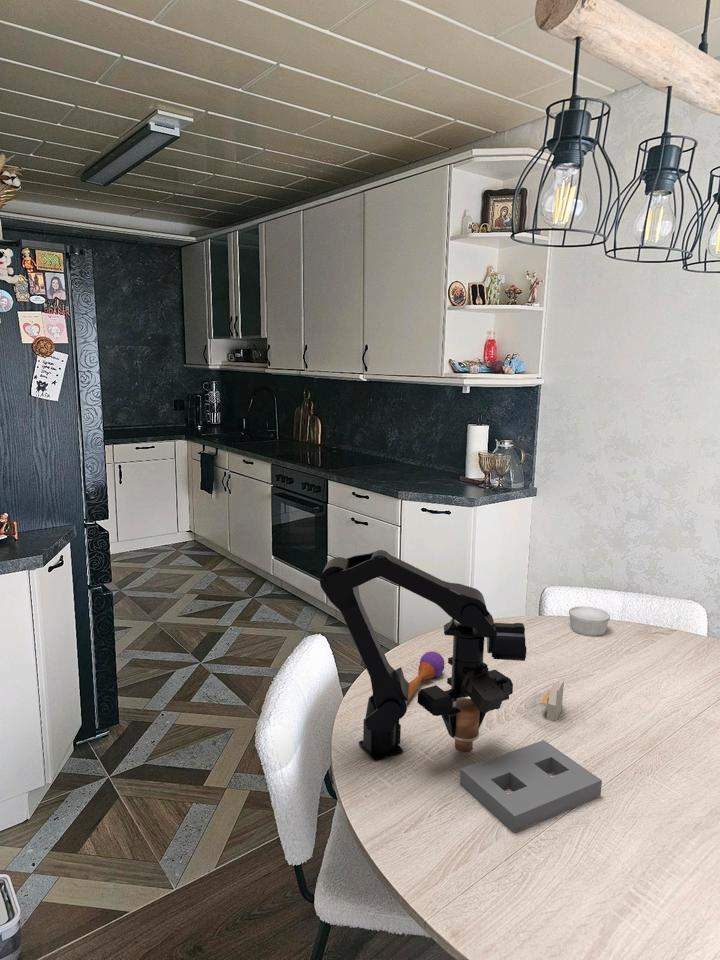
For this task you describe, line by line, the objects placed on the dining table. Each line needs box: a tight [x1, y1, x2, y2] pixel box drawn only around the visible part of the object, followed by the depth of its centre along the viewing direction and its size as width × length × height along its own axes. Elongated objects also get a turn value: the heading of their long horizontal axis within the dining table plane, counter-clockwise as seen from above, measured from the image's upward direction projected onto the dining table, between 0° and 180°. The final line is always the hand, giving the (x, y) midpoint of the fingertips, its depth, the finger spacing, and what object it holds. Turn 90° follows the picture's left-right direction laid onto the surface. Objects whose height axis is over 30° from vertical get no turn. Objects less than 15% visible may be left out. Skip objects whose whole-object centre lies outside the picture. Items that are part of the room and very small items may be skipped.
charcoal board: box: [459, 739, 603, 834], centre depth 116 cm, size 20×14×3 cm
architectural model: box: [540, 679, 565, 722], centre depth 142 cm, size 3×7×7 cm, turn 150°
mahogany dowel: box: [453, 697, 480, 754], centre depth 125 cm, size 6×6×9 cm
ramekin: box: [568, 605, 611, 637], centre depth 188 cm, size 11×11×5 cm
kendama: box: [407, 651, 445, 704], centre depth 153 cm, size 6×6×20 cm
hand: (464, 732), depth 126 cm, fingers closed on mahogany dowel, 5 cm apart
